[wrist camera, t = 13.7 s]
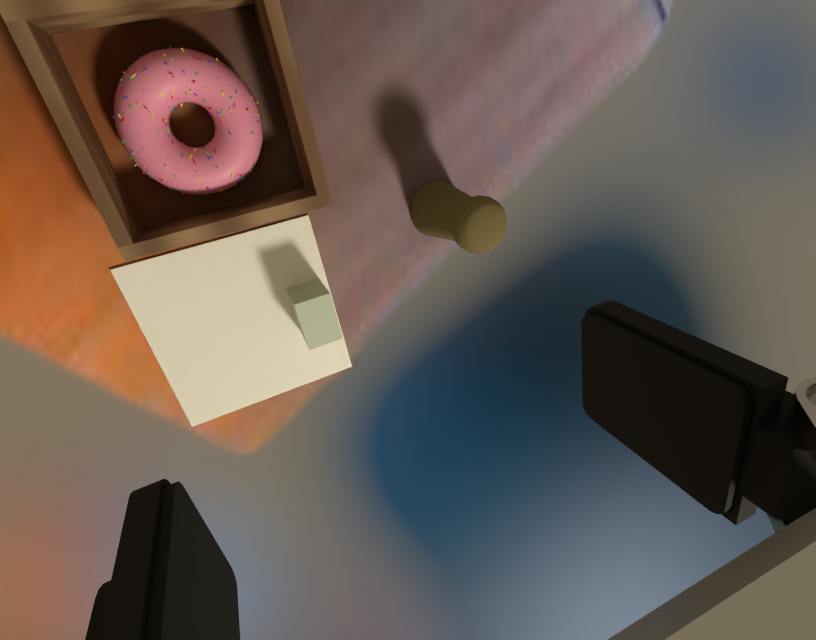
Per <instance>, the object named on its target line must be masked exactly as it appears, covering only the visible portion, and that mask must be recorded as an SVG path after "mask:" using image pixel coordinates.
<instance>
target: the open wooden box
mask: <svg viewBox="0 0 816 640" xmlns="http://www.w3.org/2000/svg"><path fill="white" fill-rule="evenodd" d="M249 5H254V9H255V12H256V16H257V19H258V23H259V26H260V30H261V33H262V37H263V40H264V44H265V47H266V51H267V54H268V58H269V61H270V65H271V68H272V72H273V75H274V79H275V82H276V86H277V89H278V93H279V96H280V100H281V103H282V107H283V111H284V114H285V118H286V121H287V125H288V128H289V132H290V135H291V139H292V142H293V146H294V149H295V153H296V156H297V160H298V163H299V167H300V170H301V174H302V177H303V181H304V184H305V188H302V189H298V190H294V191H290V192H286V193H283V194H279V195H275V196H271V197H267V198H263V199H259V200H256V201H252V202H248V203H244V204H240V205H236V206H232V207H229V208H225V209H221V210H217V211H213V212H209V213H205V214H202V215H198V216H194V217H190V218H186V219H182V220H178V221H175V222H171V223H167V224H163V225H159V226H155V227H151V228H148V229H144V230H142V229H141V226H140V224H139V222H138V220H137V218H136V216H135V214H134V211H133V209H132V207H131V205H130V203H129V201H128V199H127V196H126V194H125V192H124V190H123V188H122V186H121V184H120V181H119V179H118V177H117V175H116V173H115V171H114V169H113V167H112V164H111V162H110V160H109V158H108V156H107V154H106V152H105V149H104V147H103V145H102V143H101V141H100V139H99V137H98V134H97V132H96V130H95V128H94V126H93V124H92V122H91V119H90V117H89V115H88V113H87V111H86V109H85V107H84V105H83V102H82V100H81V98H80V96H79V94H78V92H77V90H76V87H75V85H74V83H73V81H72V79H71V77H70V75H69V72H68V70H67V68H66V66H65V64H64V62H63V60H62V57H61V55H60V53H59V51H58V49H57V47H56V45H55V43H54V40H53V38H52V36H51V34H57V33H64V32H71V31H77V30H84V29H91V28H98V27H105V26H112V25H119V24H125V23H132V22H139V21H146V20H153V19H160V18H166V17H173V16H180V15H187V14H194V13H201V12H208V11H214V10H221V9H228V8H235V7H242V6H249ZM0 14H1V16H2V18H3V20H4V22H5V24H6V26H7V28H8V30H9V32H10V34H11V36H12V38H13V40H14V42H15V44H16V46H17V48H18V50H19V52H20V54H21V56H22V58H23V60H24V62H25V64H26V66H27V67H28V69H29V71H30V73H31V75H32V77H33V79H34V81H35V83H36V85H37V87H38V89H39V91H40V93H41V95H42V97H43V99H44V101H45V103H46V105H47V107H48V109H49V111H50V113H51V115H52V117H53V119H54V121H55V123H56V125H57V127H58V129H59V131H60V133H61V135H62V137H63V139H64V141H65V143H66V145H67V147H68V149H69V151H70V153H71V155H72V157H73V159H74V161H75V163H76V165H77V167H78V169H79V171H80V173H81V175H82V177H83V179H84V181H85V183H86V185H87V187H88V189H89V191H90V193H91V195H92V197H93V199H94V201H95V203H96V205H97V207H98V209H99V211H100V213H101V215H102V217H103V219H104V221H105V223H106V225H107V227H108V229H109V231H110V233H111V235H112V237H113V239H114V241H115V243H116V245H117V247H118V249H119V251H120V253H121V255H122V257H123V259H124V261H128V260H131V259H135V258H139V257H142V256H146V255H150V254H153V253H157V252H161V251H164V250H168V249H172V248H175V247H179V246H183V245H186V244H190V243H193V242H197V241H201V240H204V239H208V238H212V237H215V236H219V235H223V234H226V233H230V232H234V231H237V230H241V229H245V228H248V227H252V226H256V225H259V224H263V223H267V222H270V221H274V220H278V219H281V218H285V217H288V216H292V215H296V214H299V213H303V212H307V211H310V210H314V209H318V208H321V207H325V206H329V205H332V200H331V196H330V192H329V188H328V184H327V181H326V177H325V173H324V169H323V165H322V162H321V158H320V154H319V150H318V146H317V142H316V139H315V135H314V131H313V127H312V123H311V120H310V116H309V112H308V108H307V104H306V100H305V97H304V93H303V89H302V85H301V81H300V78H299V74H298V70H297V66H296V62H295V58H294V55H293V51H292V47H291V43H290V39H289V35H288V32H287V28H286V24H285V20H284V16H283V13H282V9H281V5H280V1H279V0H0Z"/></svg>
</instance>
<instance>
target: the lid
mask: <svg viewBox="0 0 816 640" xmlns="http://www.w3.org/2000/svg"><path fill="white" fill-rule="evenodd" d="M110 271H111V273H112V274H113V276H114V278H115V280H116V282H117V284H118V286H119V288H120V290H121V292H122V294H123V296H124V297H125V299H126V301H127V303H128V305H129V307H130V309H131V311H132V313H133V315H134V317H135V319H136V320H137V322H138V324H139V326H140V328H141V330H142V332H143V334H144V336H145V338H146V340H147V341H148V343H149V345H150V347H151V349H152V351H153V353H154V355H155V357H156V359H157V361H158V363H159V364H160V366H161V368H162V370H163V372H164V374H165V376H166V378H167V380H168V382H169V384H170V386H171V387H172V389H173V391H174V393H175V395H176V397H177V399H178V401H179V403H180V405H181V407H182V408H183V410H184V412H185V414H186V416H187V418H188V420H189V422H190V424H191V426H192V427H193V426H196V425H198V424H201V423H204V422H206V421H209V420H212V419H214V418H217V417H220V416H222V415H225V414H227V413H230V412H233V411H235V410H238V409H241V408H243V407H246V406H249V405H251V404H254V403H257V402H259V401H262V400H265V399H267V398H270V397H273V396H275V395H278V394H281V393H283V392H286V391H288V390H291V389H294V388H296V387H299V386H302V385H304V384H307V383H310V382H312V381H315V380H318V379H320V378H323V377H326V376H328V375H331V374H334V373H336V372H339V371H342V370H344V369H347V368H349V367H352V365H351V361H350V358H349V354H348V351H347V347H346V344H345V341H344V337H343V334H342V330H341V327H340V323H339V320H338V316H337V313H336V309H335V306H334V303H333V299H332V296H331V292H330V289H329V285H328V282H327V278H326V275H325V272H324V268H323V265H322V261H321V258H320V254H319V251H318V247H317V244H316V240H315V237H314V234H313V230H312V227H311V223H310V220H309V216H308V215H306V216H302V217H298V218H295V219H291V220H288V221H284V222H280V223H277V224H273V225H269V226H266V227H262V228H259V229H255V230H251V231H248V232H244V233H240V234H237V235H233V236H230V237H226V238H222V239H219V240H215V241H211V242H208V243H204V244H201V245H197V246H193V247H190V248H186V249H182V250H179V251H175V252H171V253H168V254H164V255H161V256H157V257H153V258H150V259H146V260H142V261H139V262H135V263H132V264H128V265H124V266H121V267H117V268H113V269H111V270H110Z"/></svg>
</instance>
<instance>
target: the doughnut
mask: <svg viewBox="0 0 816 640" xmlns="http://www.w3.org/2000/svg"><path fill="white" fill-rule="evenodd" d="M123 73H124V74H123V75H122V77H121V79H120V81H119V84H118V87H117V90H116V93H115V97H114V116H112V117H113V118H114V121H115V126H116V129H117V132H118V135H119V138H120V140H121V142H122V144H123V146H124V148H125V150H126V151H127V153H128V154H129V156H130V159H132V160H133V161H134V162H135V165H134V166H136V165H137V166H138V167H139V168H140V169H141V170H142V171H143V174H145V173H146V174H147V175H148V176H149V177H150V178H152V179H154V180H156V181H157V182H159V183H161V184H163V186H165V187H168V188H170V189H169V190H172V189H173V190H176V191H180V192H182V194H185V193H188V194H196V195H202V196H204V195H205V194H209V195H211V194H212V193H217V192H222V191H225V190H227V189H229V188H231V187H233V186H235V185H236V184H238V183H239V182H240V181H242V180H243V179H244V178H245V177H246V176H247V175H248V174H249V173H250V172H251V170H252V169H253V167H254V166H257V165H256V162H257V160H258V157H259V154H260V151H261V147H262V141H263V128H262V121H261V115H260V112H259V109H258V106H257V104H258V102H256V101H255V99H254V97H253V95H252V93H251V92H250V90H249V89H248V87H247V86H246V85H247V84H245V83H244V82H243V81H242V80H241V79H240V77H239V76H238V75H237V74H236V73H235V72H234V71H233V70H231V69H230V68H229V67H228V66H227V65H225V64H224V63H222V62H221V61H219V60H218V59H217V58H214V57H212V56H210V55H207V54H205V53H202V52H199V51H195V50H191V49H190V48H188V49H186V48H171V46H170V47H169V48H168V49H160V50H156V51H152V52H150V53H147V54H145V55H141V57H140V58H139V59H137V60H136V61H135V62H134V63H133V64H132V65H131V66H130V67H128V69H127V70H126V71H125V72H124V71H123ZM183 103H194V104H198V105H200V106H202V107H203V108H204V109H206V110H207V111H208V114H209V115H211V117H212V118H213V121H214V124H215V133H214V136H213V138H212V140H211V141H210V142H209V143H208V144H205V145H204V146H202V147H190V146H187V145H185V144H184V142H182V143H181V142H180V141H179V140H178V139H177V138H176V137H175V136H174V134H173V133H172V131H171V128H170V115H171V113H172V111H173V109H174V110H175V108H176V107H177V106H178V105H180V104H181V107H182V104H183Z"/></svg>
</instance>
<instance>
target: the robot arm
mask: <svg viewBox="0 0 816 640" xmlns="http://www.w3.org/2000/svg"><path fill="white" fill-rule="evenodd" d="M581 325H582V389H583V390H582V391H583V392H582V395H583V408H584V410H585V412H586V414H587V415H588V416H589V417H590V418H591V419H592V420H594V421H595V422H596V423H597V424H599V425H600V426H601V427H602V428H604V429H605V430H606V431H608V432H609V433H610V434H612V435H613V436H614V437H616V438H617V439H618V440H619V441H621V442H622V443H623V444H624V445H626V446H627V447H628V448H630V449H631V450H632V451H633V452H635V453H636V454H637V455H639V456H640V457H641V458H642V459H644V460H645V461H646V462H648V463H649V464H650V465H652V466H653V467H654V468H655V469H657V470H658V471H659V472H661V473H662V474H663V475H664V476H666V477H667V478H668V479H670V480H671V481H672V482H673V483H675V484H676V485H678V486H679V487H680V488H681V489H682V490H684V491H685V492H686V493H688V494H689V495H690V496H691V497H693V498H694V499H695V500H697V501H698V502H699V503H701V504H702V505H703V506H704V507H706V508H707V509H708V510H710V511H711V512H713V513H716V514H722V515H723V516H724V517H726V518H727V519H729V520H730V521H731V522H732V523H734V524H735V525H737V524H739V523H741V522H742V521H744V520H746V519H747V518H749V517H750V516H752V515H754V514H755V512H756V508H757V506H758V507H759V508H760V509H762V510H763V511H765V512H766V513H767V515H768V518H769V521H770V523H771V526H772V528H773V530H774V533H775V534H773V535H771V536H770V537H768V538H767V539H765V540H764V541H762V542H760V543H759V544H757V545H756V546H754V547H752V548H751V549H749V550H748V551H746V552H745V553H743V554H741V555H740V556H738V557H737V558H735V559H734V560H732V561H730V562H729V563H727V564H726V565H724V566H722V567H721V568H719V569H718V570H716V571H715V572H713V573H711V574H710V575H708V576H706V577H705V578H703V579H702V580H700V581H699V582H697V583H695V584H694V585H692V586H691V587H689V588H688V589H686V590H684V591H683V592H681V593H680V594H678V595H677V596H675V597H674V598H672V599H671V600H669V601H667V602H666V603H664V604H663V605H661V606H659V607H658V608H656V609H655V610H653V611H652V612H650V613H648V614H647V615H645V616H644V617H642V618H641V619H639V620H637V621H636V622H634V623H633V624H631V625H630V626H628V627H627V628H625V629H623V630H622V631H620V632H619V633H617V634H616V635H614V636H612V637H611V638H609V639H608V640H816V377H815V378H811V379H807V380H804V381H803V382H801V383H800V384H798V385H797V387H796V390H795V394H792V393H790V392H788V391H785V389H786V385H787V381H788V377H786V376H783V375H781V374H779V373H777V372H774V371H772V370H770V369H767V368H765V367H763V366H761V365H758V364H756V363H754V362H752V361H749V360H747V359H745V358H742V357H740V356H738V355H736V354H733V353H731V352H729V351H727V350H724V349H722V348H720V347H717V346H715V345H713V344H711V343H708V342H706V341H704V340H702V339H699V338H697V337H695V336H693V335H690V334H688V333H686V332H683V331H681V330H679V329H677V328H674V327H672V326H670V325H668V324H665V323H663V322H661V321H659V320H656V319H654V318H652V317H649V316H647V315H645V314H643V313H640V312H638V311H636V310H634V309H631V308H629V307H627V306H624V305H622V304H620V303H618V302H615V301H612V300H610V301H606V302H603V303H601V304H598V305H596V306H593V307H591V308H589V309H587V311H586V313H585V317H583V319H582V324H581ZM85 640H240V629H239V612H238V595H237V584H236V579H235V575H234V572H233V570H232V568H231V566H230V564H229V562H228V561H227V559H226V557H225V556H224V554H223V552H222V551H221V549H220V547H219V546H218V544H217V542H216V541H215V539H214V537H213V535H212V534H211V532H210V530H209V529H208V527H207V525H206V524H205V522H204V520H203V519H202V517H201V516H200V514H199V512H198V510H197V509H196V507H195V505H194V503H193V502H192V500H191V498H190V497H189V495H188V493H187V492H186V490H185V488H184V487H183V485H182V484H181V483H180V482H176V483H173V484H170V483H169V481H168V480H166V479H162V480H160V481H158V482H155V483H153V484H150V485H148V486H145V487H142V488H140V489H138V490H135V491H133V492H132V493H131V494H130V497H129V501H128V505H127V510H126V515H125V519H124V524H123V528H122V533H121V537H120V542H119V547H118V551H117V556H116V561H115V565H114V570H113V575H112V580H111V581H108V582H106V583H104V584H103V585H102V586H101V587H100V589H99V590H98V593H97V595H96V598H95V602H94V606H93V610H92V614H91V619H90V622H89V627H88V631H87V635H86V639H85Z"/></svg>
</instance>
